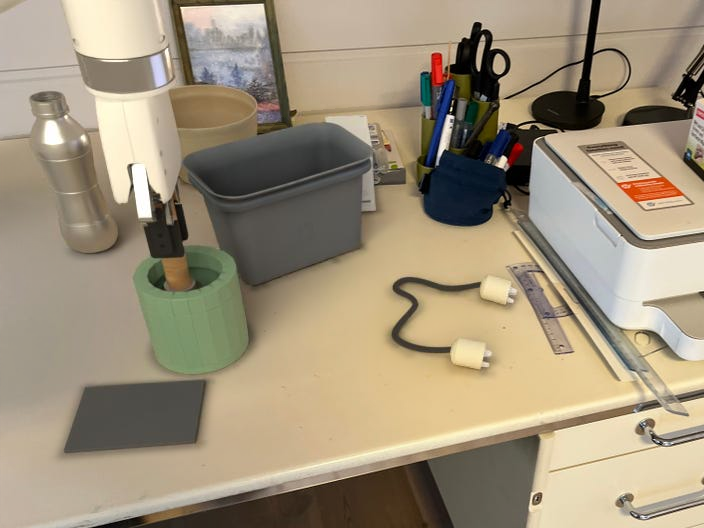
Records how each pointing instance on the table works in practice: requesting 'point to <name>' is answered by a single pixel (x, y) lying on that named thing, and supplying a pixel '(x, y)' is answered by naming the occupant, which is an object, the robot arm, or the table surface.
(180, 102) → the planter bowl
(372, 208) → the cosmetics box
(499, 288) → the cable
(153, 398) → the mat
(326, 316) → the table surface
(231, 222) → the storage bin
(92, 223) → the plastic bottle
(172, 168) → the robot arm
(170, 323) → the jar
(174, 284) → the brush
